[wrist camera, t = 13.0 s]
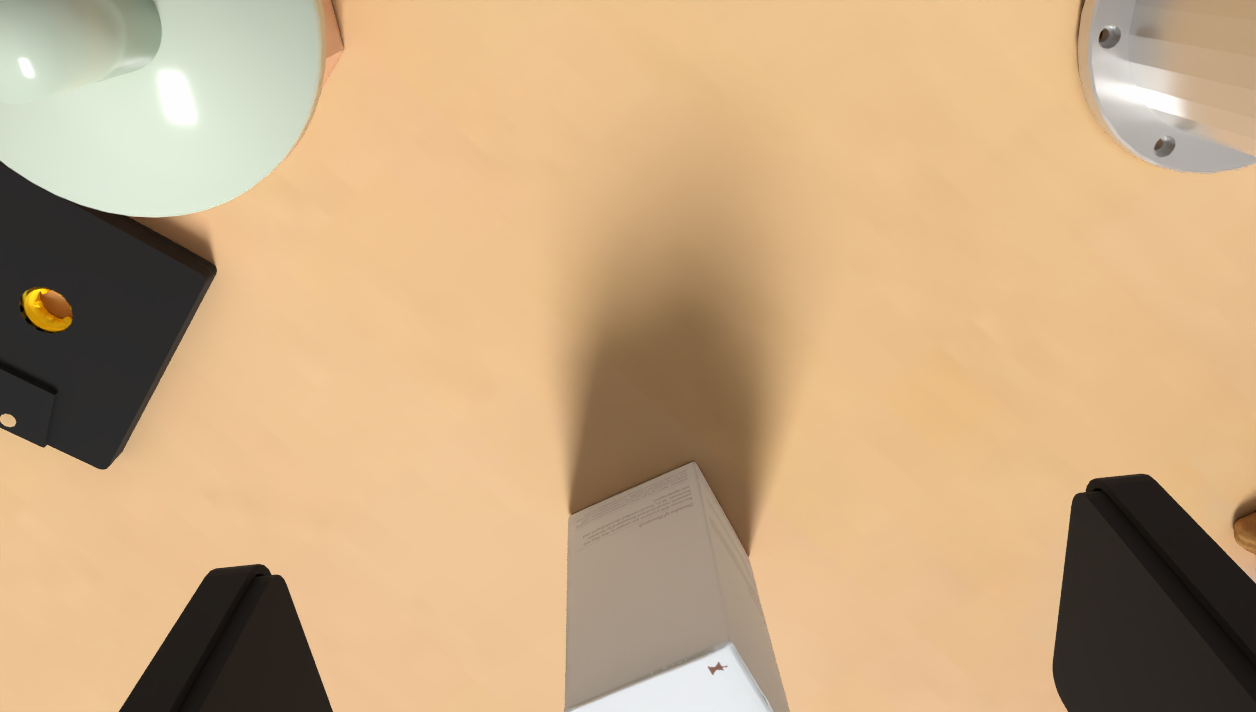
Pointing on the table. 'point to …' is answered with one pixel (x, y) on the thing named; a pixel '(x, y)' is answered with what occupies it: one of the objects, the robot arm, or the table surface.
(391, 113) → the table surface
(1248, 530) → the stuffed squirrel
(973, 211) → the table surface
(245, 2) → the lid
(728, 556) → the supplement box
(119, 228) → the cassette tape
